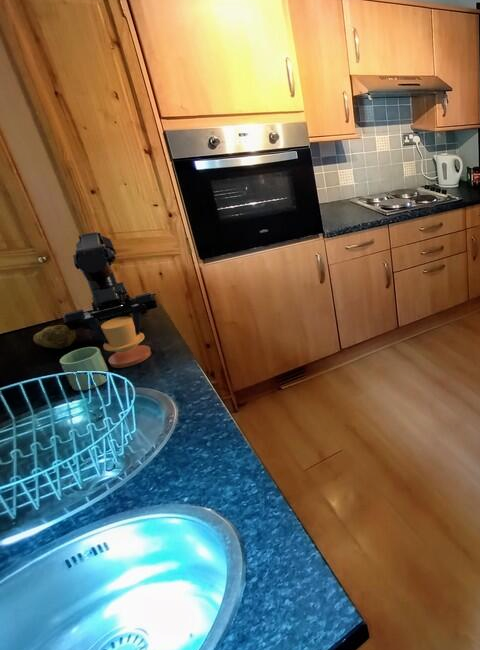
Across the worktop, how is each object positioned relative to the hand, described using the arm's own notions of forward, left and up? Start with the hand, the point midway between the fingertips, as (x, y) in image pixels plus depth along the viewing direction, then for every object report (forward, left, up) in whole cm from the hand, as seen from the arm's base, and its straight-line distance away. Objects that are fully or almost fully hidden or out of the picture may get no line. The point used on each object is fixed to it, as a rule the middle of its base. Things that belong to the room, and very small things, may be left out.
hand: (122, 338), depth 120 cm
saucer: (-1, 0, -7) cm, 7 cm away
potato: (-24, -7, -7) cm, 26 cm away
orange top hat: (-1, 0, -3) cm, 4 cm away
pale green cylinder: (+2, -10, -7) cm, 12 cm away
